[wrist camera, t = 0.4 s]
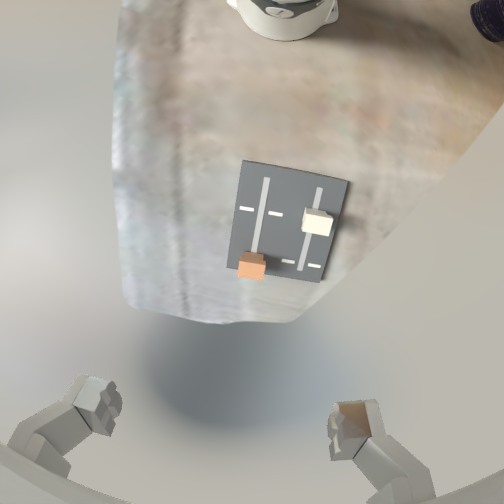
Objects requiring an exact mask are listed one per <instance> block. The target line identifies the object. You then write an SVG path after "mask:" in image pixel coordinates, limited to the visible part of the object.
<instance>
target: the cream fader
mask: <svg viewBox="0 0 504 504" xmlns="http://www.w3.org/2000/svg"><path fill="white" fill-rule="evenodd" d="M302 221H303V223H302V227H301V228H302V231H303V232H308V233H313V234H319V235H324V236H329V233H330V230H331V226H332V222H333V218H332V216H330V215H327V213H326V211H321V210H316V209H311V208H306V207H305V211H304V215H303V219H302Z"/></svg>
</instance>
